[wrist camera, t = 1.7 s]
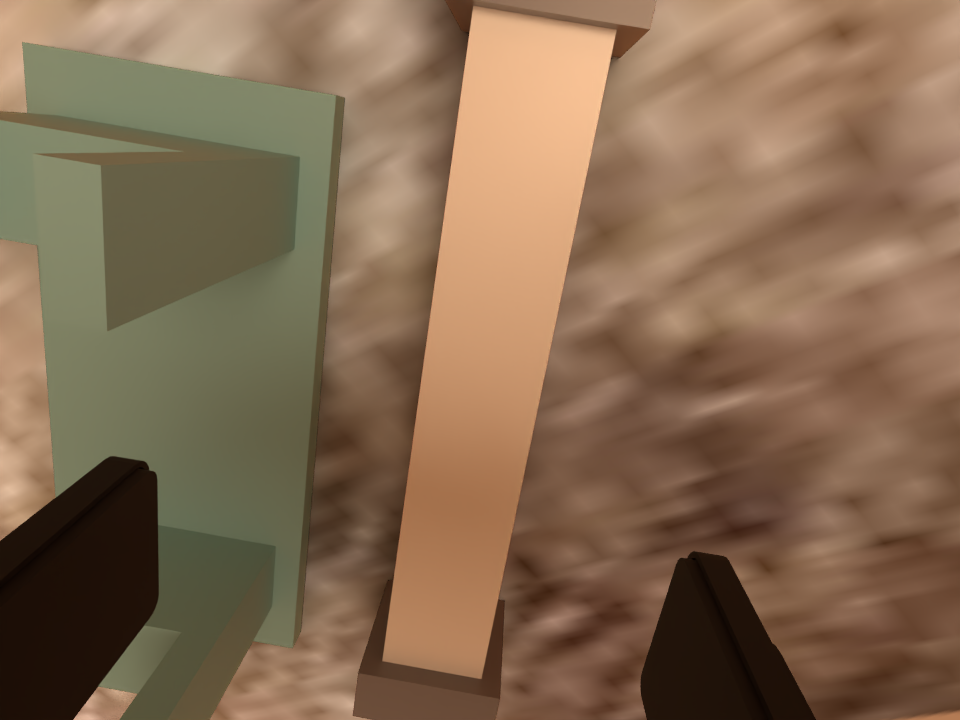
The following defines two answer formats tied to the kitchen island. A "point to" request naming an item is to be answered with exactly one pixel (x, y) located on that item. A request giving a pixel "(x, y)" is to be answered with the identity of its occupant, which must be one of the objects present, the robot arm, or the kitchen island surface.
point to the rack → (184, 332)
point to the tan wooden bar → (489, 343)
